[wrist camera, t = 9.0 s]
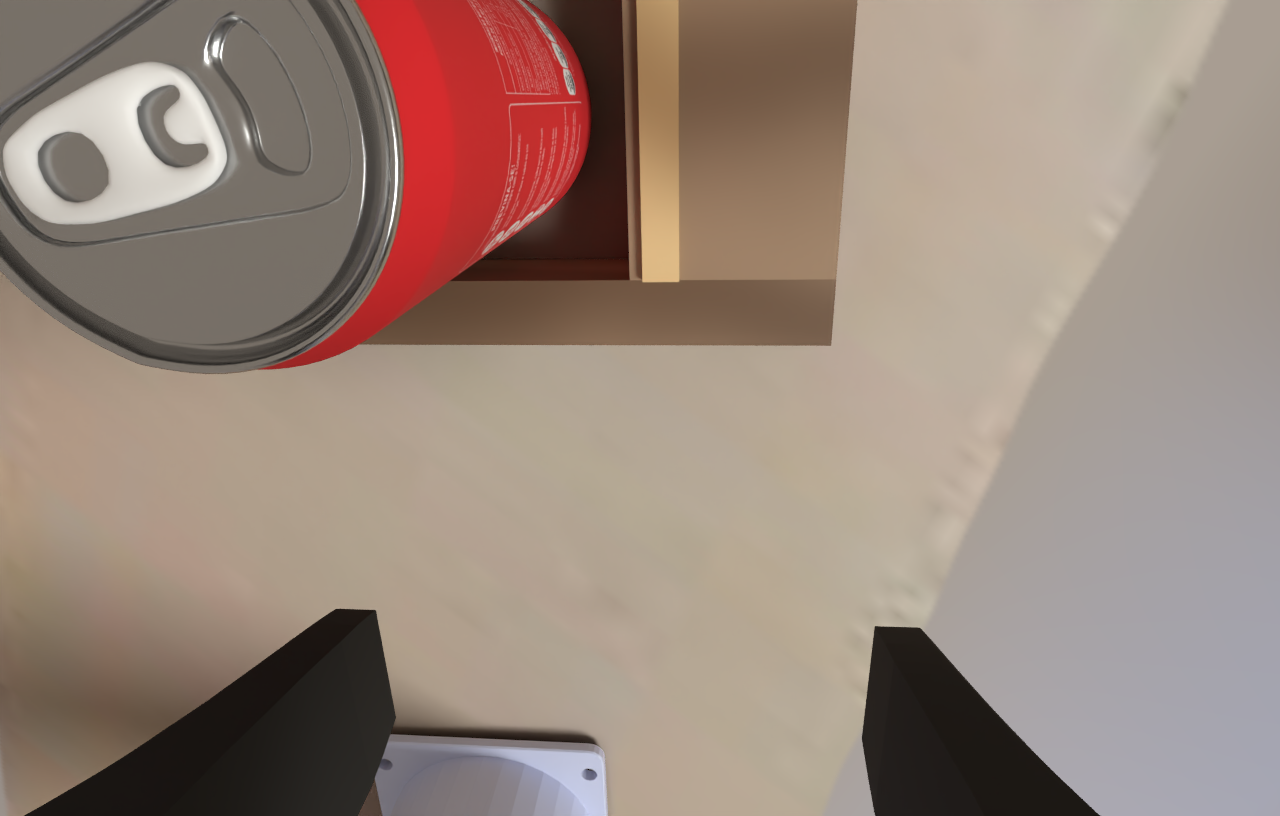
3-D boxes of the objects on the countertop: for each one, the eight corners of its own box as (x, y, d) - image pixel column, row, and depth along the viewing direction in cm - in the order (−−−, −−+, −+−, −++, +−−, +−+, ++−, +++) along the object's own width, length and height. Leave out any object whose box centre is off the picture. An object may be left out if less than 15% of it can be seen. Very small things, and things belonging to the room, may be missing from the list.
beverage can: (626, 187, 18) (510, 320, 7) (436, 249, 19) (78, 449, 8) (553, -45, 17) (255, -330, 6) (348, 36, 18) (-252, -70, 7)
